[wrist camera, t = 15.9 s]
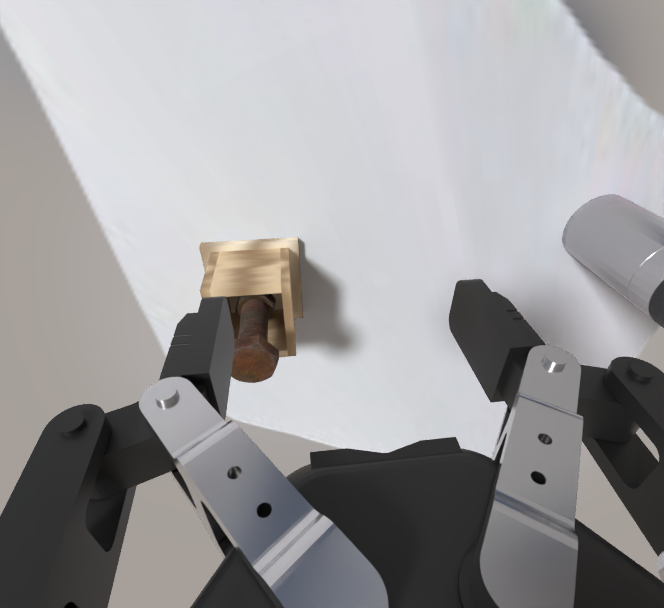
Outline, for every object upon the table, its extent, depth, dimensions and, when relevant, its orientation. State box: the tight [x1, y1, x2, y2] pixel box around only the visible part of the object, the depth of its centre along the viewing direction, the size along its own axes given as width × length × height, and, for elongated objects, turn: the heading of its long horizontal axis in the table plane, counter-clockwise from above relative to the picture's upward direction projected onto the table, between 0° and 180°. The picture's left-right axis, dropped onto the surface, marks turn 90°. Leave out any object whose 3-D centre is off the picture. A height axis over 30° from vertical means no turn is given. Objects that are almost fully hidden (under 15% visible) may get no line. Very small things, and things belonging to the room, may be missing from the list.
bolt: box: [231, 294, 279, 383], centre depth 45 cm, size 6×5×15 cm
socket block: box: [199, 237, 303, 357], centre depth 48 cm, size 12×12×10 cm
